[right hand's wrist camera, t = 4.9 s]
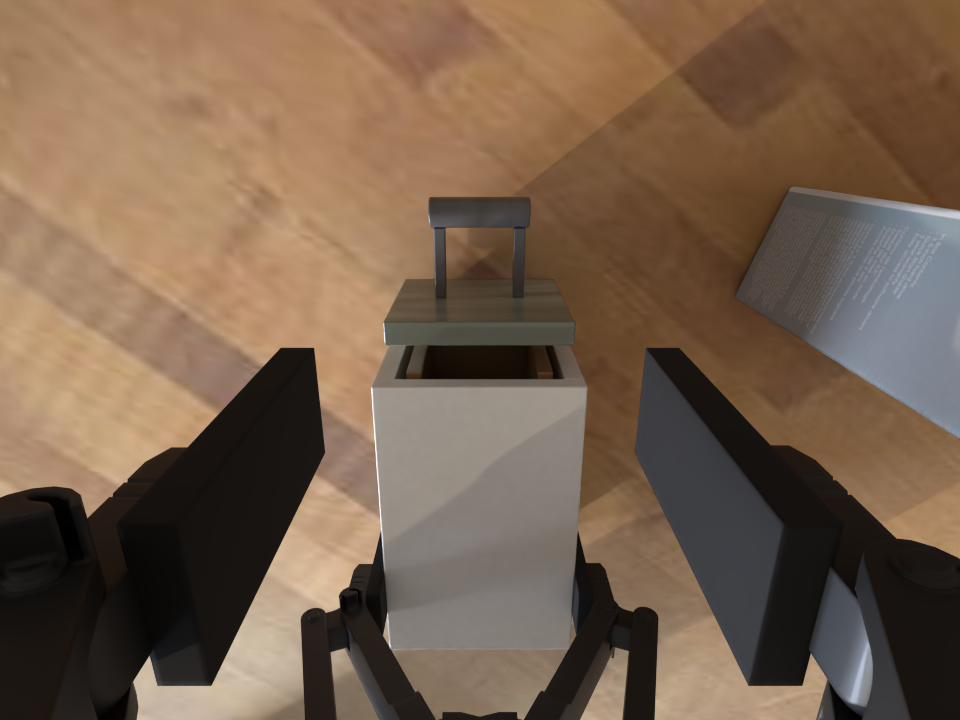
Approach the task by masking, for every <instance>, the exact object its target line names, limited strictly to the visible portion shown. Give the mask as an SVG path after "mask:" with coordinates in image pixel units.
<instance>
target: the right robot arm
mask: <svg viewBox="0 0 960 720" xmlns="http://www.w3.org/2000/svg"><path fill="white" fill-rule="evenodd" d="M324 454H325V447H324V438H323V428H322V419H321V409H320V400H319V390H318V381H317V372H316V362H315V353H314V348H280V349H279V350H278V352H277V353H276V354H275V355H274V356H273V357H272V358H271V359H270V360H269V361H268V362H267V363H266V364H265V365H264V366H263V368H262V369H261V370H260V371H259V372H258V373H257V374H256V375H255V376H254V377H253V378H252V379H251V380H250V381H249V382H248V384H247V385H246V386H245V387H244V388H243V389H242V390H241V391H240V392H239V393H238V394H237V395H236V396H235V397H234V398H233V400H232V401H231V402H230V403H229V404H228V405H227V406H226V407H225V408H224V409H223V410H222V411H221V412H220V413H219V414H218V416H217V417H216V418H215V419H214V420H213V421H212V422H211V423H210V424H209V425H208V426H207V427H206V428H205V429H204V431H203V432H202V433H201V434H200V435H199V436H198V437H197V438H196V439H195V440H194V441H193V442H192V443H191V444H190V445H189V447H188V448H170V449H168V450H166V451H164V452H162V453H161V454H159V455H157V456H155V457H154V458H152V459H150V460H148V461H146V462H145V463H144V464H143V465H142V466H141V467H140V468H139V469H138V470H137V471H136V472H135V473H134V474H133V475H131V476H130V477H129V478H128V482H127V483H123V484H122V485H121V486H120V487H119V488H118V489H117V490H116V491H115V492H114V493H113V497H109V498H108V499H107V500H106V501H105V502H104V503H103V504H102V505H101V506H100V507H99V508H98V509H97V510H96V511H95V512H94V513H93V514H92V515H91V516H89V517H88V518H87V516H86V513H85V509H84V505H83V502H82V498H81V495H80V494H78V493H77V492H75V491H74V490H72V489H70V488H62V487H55V486H54V487H43V488H33V489H29V490H25V491H21V492H17V493H13V494H9V495H6V496H3V497H1V498H0V720H136V719H137V712H138V701H137V694H136V690H135V687H134V683H133V681H134V679H135V677H136V676H137V674H138V673H139V671H140V670H141V668H142V666H143V665H144V663H145V662H146V660H147V659H148V657H149V655H150V658H151V662H152V666H153V670H154V673H155V677H156V681H157V685H158V686H211V685H212V683H213V681H214V679H215V677H216V675H217V673H218V671H219V669H220V667H221V665H222V663H223V661H224V659H225V657H226V655H227V653H228V651H229V649H230V647H231V644H232V642H233V640H234V638H235V636H236V634H237V632H238V630H239V628H240V626H241V624H242V622H243V620H244V618H245V616H246V614H247V612H248V610H249V608H250V606H251V603H252V601H253V599H254V597H255V595H256V593H257V591H258V589H259V587H260V585H261V583H262V581H263V579H264V577H265V575H266V573H267V571H268V569H269V567H270V565H271V563H272V560H273V558H274V556H275V554H276V552H277V550H278V548H279V546H280V544H281V542H282V540H283V538H284V536H285V534H286V532H287V530H288V528H289V526H290V524H291V522H292V519H293V517H294V515H295V513H296V511H297V509H298V507H299V505H300V503H301V501H302V499H303V497H304V495H305V493H306V491H307V489H308V487H309V485H310V483H311V481H312V479H313V476H314V474H315V472H316V470H317V468H318V466H319V464H320V462H321V460H322V458H323V456H324ZM635 454H636V456H637V458H638V460H639V462H640V464H641V466H642V468H643V470H644V472H645V474H646V476H647V479H648V481H649V483H650V485H651V487H652V489H653V491H654V493H655V495H656V497H657V499H658V501H659V503H660V505H661V507H662V509H663V511H664V513H665V515H666V517H667V520H668V522H669V524H670V526H671V528H672V530H673V532H674V534H675V536H676V538H677V540H678V542H679V544H680V546H681V548H682V550H683V552H684V554H685V556H686V558H687V560H688V563H689V565H690V567H691V569H692V571H693V573H694V575H695V577H696V579H697V581H698V583H699V585H700V587H701V589H702V591H703V593H704V595H705V597H706V599H707V601H708V604H709V606H710V608H711V610H712V612H713V614H714V616H715V618H716V620H717V622H718V624H719V626H720V628H721V630H722V632H723V634H724V636H725V638H726V640H727V642H728V644H729V647H730V649H731V651H732V653H733V655H734V657H735V659H736V661H737V663H738V665H739V667H740V669H741V671H742V673H743V675H744V677H745V679H746V681H747V683H748V685H749V686H802V685H803V681H804V677H805V673H806V669H807V666H808V662H809V658H810V654H812V655H813V657H814V659H815V660H816V662H817V663H818V665H819V666H820V668H821V669H822V671H823V673H824V674H825V676H826V677H827V679H828V680H827V683H826V687H825V690H824V694H823V698H822V701H821V705H820V708H819V712H818V715H817V719H816V720H960V559H959V558H957V557H955V556H953V555H951V554H949V553H946V552H944V551H942V550H940V549H938V548H936V547H933V546H929V545H926V544H922V543H919V542H916V541H912V540H904V539H896V538H895V537H894V536H893V535H892V534H891V533H890V532H889V531H888V530H887V529H886V528H885V527H884V526H883V525H882V524H881V523H880V522H879V521H878V520H877V519H876V518H875V517H874V516H873V515H871V514H870V513H869V512H868V511H867V510H866V509H865V508H864V507H863V506H862V505H861V504H860V503H859V502H858V501H857V500H856V499H855V498H854V497H853V496H852V495H848V493H847V490H846V489H845V488H844V487H843V486H842V485H841V484H839V483H838V482H837V481H836V480H833V477H832V476H831V475H830V474H829V473H828V472H827V471H826V470H825V469H824V468H823V467H822V466H821V465H820V464H819V463H818V462H817V461H816V460H814V459H812V458H811V457H809V456H807V455H805V454H803V453H802V452H800V451H798V450H796V449H794V448H793V447H791V446H771V445H770V444H769V443H768V442H767V441H766V440H765V439H764V438H763V437H762V436H761V435H760V434H759V433H758V432H757V431H756V429H755V428H754V427H753V426H752V425H751V424H750V423H749V422H748V421H747V420H746V419H745V418H744V417H743V416H742V415H741V413H740V412H739V411H738V410H737V409H736V408H735V407H734V406H733V405H732V404H731V403H730V402H729V401H728V400H727V399H726V397H725V396H724V395H723V394H722V393H721V392H720V391H719V390H718V389H717V388H716V387H715V386H714V385H713V384H712V382H711V381H710V380H709V379H708V378H707V377H706V376H705V375H704V374H703V373H702V372H701V371H700V370H699V369H698V368H697V366H696V365H695V364H694V363H693V362H692V361H691V360H690V359H689V358H688V357H687V356H686V355H685V354H684V353H683V352H682V350H681V349H680V348H646V353H645V362H644V371H643V381H642V390H641V400H640V409H639V419H638V428H637V438H636V447H635Z"/></svg>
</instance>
